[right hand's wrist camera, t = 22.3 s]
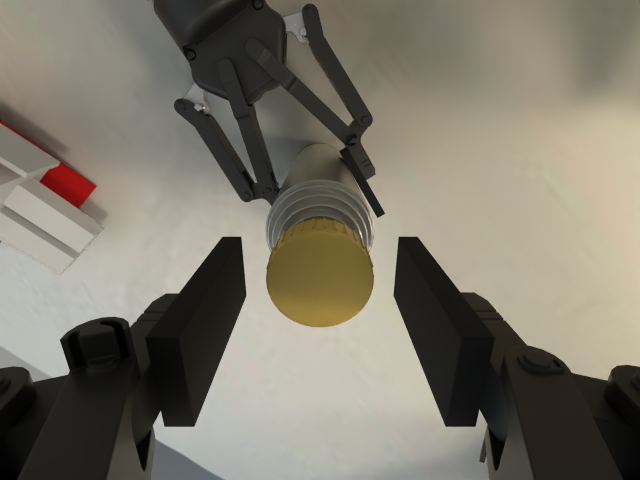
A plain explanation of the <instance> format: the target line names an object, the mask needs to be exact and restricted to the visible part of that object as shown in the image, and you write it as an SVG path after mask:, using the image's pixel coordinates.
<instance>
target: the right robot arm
mask: <svg viewBox="0 0 640 480" xmlns="http://www.w3.org/2000/svg"><path fill="white" fill-rule="evenodd" d="M245 298H246V286H245V274H244V263H243V252H242V240H241V237H222V238H221V240H220V241H219V242H218V243H217V245H216V246H215V247H214V249H213V250H212V251H211V252H210V254H209V255H208V256H207V258H206V259H205V260H204V262H203V263H202V264H201V265H200V267H199V268H198V269H197V271H196V272H195V273H194V275H193V276H192V277H191V278H190V280H189V281H188V282H187V284H186V285H185V286H184V288H183V289H182V290H181V291H180V293H179V294H165V295H163V296H161V297H160V298H158V299H156V300H155V301H153V302H152V303H151V304H150V305H149V306H148V308H147V309H146V310H145V311H144V314H141V316H140V317H139V318H138V319H137V322H134V324H133V325H132V326H131V327H129V323H128V322H127V321H126V320H125V319H123V318H118V317H104V318H99V319H95V320H91V321H88V322H86V323H83V324H81V325H78V326H76V327H75V328H73V329H72V330H70V331H68V332H67V333H66V334H65V335H64V336H63V337H62V338H61V339H60V342H61V345H62V348H63V351H64V354H65V357H66V360H67V363H68V366H69V369H70V372H69V374H68V375H65V376H60V377H56V378H51V379H46V380H41V381H37V382H33V381H32V378H31V376H30V373H29V371H28V370H26V369H25V368H23V367H7V368H1V369H0V480H150V479H151V471H152V463H153V455H154V447H155V433H154V429H153V424H154V422H155V420H156V418H157V416H158V415H159V413H160V411H161V413H162V417H163V422H164V426H165V427H194V426H195V423H196V421H197V418H198V416H199V413H200V411H201V408H202V406H203V403H204V401H205V398H206V396H207V393H208V391H209V388H210V386H211V383H212V381H213V378H214V376H215V373H216V371H217V368H218V366H219V363H220V361H221V358H222V356H223V353H224V351H225V348H226V346H227V343H228V340H229V338H230V335H231V333H232V330H233V328H234V325H235V323H236V320H237V318H238V315H239V313H240V310H241V308H242V305H243V303H244V300H245ZM394 298H395V300H396V303H397V305H398V308H399V310H400V313H401V315H402V318H403V320H404V323H405V325H406V328H407V330H408V333H409V335H410V338H411V340H412V343H413V346H414V348H415V351H416V353H417V356H418V358H419V361H420V363H421V366H422V368H423V371H424V373H425V376H426V378H427V381H428V383H429V386H430V388H431V391H432V393H433V396H434V398H435V401H436V403H437V406H438V408H439V411H440V413H441V416H442V418H443V421H444V424H445V426H446V427H475V426H476V422H477V417H478V413H479V409H480V411H481V413H482V415H483V416H484V418H485V420H486V422H487V429H486V433H485V437H484V441H483V445H482V450H481V454H480V461H479V462H483V463H484V462H485V458H486V455H487V462H488V470H489V478H490V480H640V367H637V366H631V365H621V366H616V367H615V368H613V369H612V370H611V373H610V376H609V378H608V381H606V380H601V379H597V378H592V377H587V376H582V375H578V374H574V373H571V371H570V370H569V368H568V367H567V366H566V364H565V363H564V362H563V361H561V360H560V359H559V358H557V357H556V356H555V355H553V354H551V353H549V352H546V351H544V350H542V349H539V348H535V347H532V346H527V345H526V344H525V343H524V341H523V340H522V339H521V338H520V337H519V336H518V335H517V333H516V332H515V331H514V330H513V329H512V328H511V327H510V325H509V324H508V323H507V322H506V321H504V320H503V318H502V316H501V315H500V314H499V313H498V312H496V310H495V308H494V307H493V306H492V305H491V304H490V303H489V302H488V301H487V300H486V299H484V298H482V297H481V296H479V295H477V294H476V293H460V291H459V290H458V289H457V288H456V286H455V285H454V284H453V282H452V281H451V280H450V278H449V277H448V276H447V275H446V273H445V272H444V271H443V269H442V268H441V267H440V265H439V264H438V263H437V262H436V260H435V259H434V258H433V256H432V255H431V254H430V252H429V251H428V250H427V249H426V247H425V246H424V245H423V243H422V242H421V241H420V240H419V238H418V237H399V240H398V252H397V263H396V274H395V286H394Z"/></svg>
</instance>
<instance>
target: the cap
mask: <svg viewBox="0 0 640 480" xmlns="http://www.w3.org/2000/svg"><path fill="white" fill-rule="evenodd" d="M372 267H373V265H372V262H371V259H370V255H369V252H368V249H367V247H366V245H365V246H364V244H363V241H362V238H361V237H360V238H359V237H358V235H357V234H356V233H355V230H351V229H350V228H348V227H347V226H346V224H344V225H343V224H341V223H338V222H336V220H334V221H332V220H326V219H325V218H323V219H314V218H312V220H308V221H305V222H304V220H303V221H302V222H301V223H299V224H297V225H295V226H294V225H292V228H290V229H289V230H288V231H284V233H283V235H282V236H281V238H280V239H277V242H276V245H275V248H274V247H273V249H272V252H271V255H270V258H269V262H268V265H267V275H266V283H267V289H268V293H269V295H270V298H271V300H272V301H273V303H274V305H275V306H276V307H277V308H278V310H279V311H280V312H281V313H283V314H284V315H285V316H286V317H288V318H289V319H291V320H293V321H295V322H297V323H299V324H302V325H306V326H311V327H329V326H334V325H337V324H340V323H343V322H345V321H347V320H349V319H351V318H352V317H354V316H355V315H356V314H357V313H358V312H360V311H361V309H362V308H363V307H364V306H365V304H366V303H367V301H368V300H369V297H370V295H371V292H372V289H373V282H374V275H373V269H372Z"/></svg>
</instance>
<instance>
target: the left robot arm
mask: <svg viewBox="0 0 640 480" xmlns="http://www.w3.org/2000/svg"><path fill="white" fill-rule="evenodd" d="M148 1H150V2H152V3H154V10H155V13H156V14H157V16H158V17H159V19H160V20H161V22H162V23H163V25H164V26H165V28H166V29H167V31H168V32H169V34H170V35H171V36H172V38H173V39H174V41H175V42H176V44H177V45H178V47H179V48H180V50H181V51H182V53H183V54H184V56H185V57H186V59H187V60H188V62H189V64H190V67H191V71H192V77H193V80H194V84H193V85H192V87H191V88H190V90H189V91H188V93H187V94H186V95H185V97H184V98H183V99H177V100H176V101H175V103H174V108H175V110H176V111H177V112H178V113H179V114H180V115H181V116H182V117H184V118H185V119H186V120H187V121H188V122H190V123H191V124H192V125H193V126H194V127H195V128H196V130H197V131H198V133H199V134H200V136H201V137H202V139H203V140H204V142H205V144H206V145H207V147H208V148H209V150H210V151H211V153H212V154H213V156H214V158H215V159H216V161H217V162H218V164H219V165H220V167H221V169H222V170H223V172H224V173H225V175H226V176H227V178H228V179H229V181H230V183H231V184H232V186H233V187H234V189H235V190H236V192H237V194H238V195H239V197H240V198H241V199H242V200H243V201H244V202H250V201H251V200H255V199H261V198H262V199H266V200H267V201H268V202H269V203H270V205H271V206H272V205H273V203H274V201H275V199H276V197H277V195H278V193H279V191H280V189H281V188H280V189H279V187H278V185H279V184H278V183H277V181H276V178H275V175H274V171H273V168H272V165H271V162H270V159H269V155H268V152H267V149H266V146H265V143H264V139H263V136H262V133H261V130H260V127H259V123H258V120H257V116H256V110H255V107H254V104H253V103H255V102H256V101H258V100H259V99H260V98H261V96H262V95H263V94H264V93H265V92H266V91H269V90H272V89H275V88H276V87H278V86H279V85H282V86H283V87H284V88H285V89H286V90H287V91H288V92H289V93H291V94H292V95H293V96H294V97H295V98H296V99H297V100H298V101H299V102H300V103H301V104H302V105H303V106H304V107H306V108H307V109H308V110H309V111H310V112H311V113H312V114H313V115H314V116H315V117H316V118H317V119H318V120H319V121H321V122H322V123H323V124H324V125H325V126H326V127H327V128H328V129H329V130H330V131H331V132H332V133H333V134H334V135H336V136H337V137H338V138H339V139H340V140H341V141H342V142H343V143H344V144H345V146H346V147H345V148H344V149H342V150H340V151H339V152H340V154H341V156H342V158H343V159H344V161H345V163H346V164H347V166H348V168H349V170H350V171H351V173H352V175H353V176H354V178H355V180H356V182H357V183H358V185H359V187H360V188H361V190H362V192H363V194H364V195H365V197H366V199H367V200H368V202H369V204H370V206H371V207H372V209H373V211H374V212H375V214H376V216H377V218H378V217H380V216H382V215H384V214H385V213H384V211H383V209H382V207H381V206H380V204H379V202H378V200H377V199H376V197H375V195H374V193H373V192H372V190H371V188H370V186H369V185H368V183H367V181H366V180H367V179H369V178H370V177H372V176H374V175H375V168H374V166H373V164H372V163H371V161H370V159H369V157H368V155H367V154H366V152H365V150H364V148H363V146H362V145H361V141H360V140H361V136H362V134H363V133H364V131H365V130H366V129H367V128H368V127H369V126H370V125H371V124H372V121H373V118H372V115H371V114H370V112H369V110H368V109H367V107H366V105H365V104H364V102H363V100H362V99H361V97H360V95H359V94H358V92H357V90H356V89H355V87H354V85H353V84H352V82H351V81H350V79H349V77H348V76H347V74H346V72H345V71H344V69H343V67H342V66H341V64H340V62H339V61H338V59H337V57H336V56H335V54H334V52H333V51H332V49H331V47H330V46H329V44H328V42H327V41H326V39H325V37H324V36H323V31H322V27H321V22H320V18H319V14H318V10H317V7H316V6H315V5H313V4H307V5H305V6H304V8H303V10H302V11H301V12H298V13H295V14H291V15H288V16H285V17H282V16H281V15H280V14H279V13H277V12H276V11H274V10H273V9H271V8H270V7H269V6H268V5H267V3H266V1H265V0H148ZM287 34H293V35H295V36H296V38H297V40H298V41H299V42H300V43H301V44H304V45H305V44H309V46H310V48H311V51H312V53H313V55H314V56H315V58H316V60H317V61H318V63H319V64H320V66H321V68H322V69H323V71H324V72H325V74H326V76H327V77H328V79H329V81H330V82H331V84H332V85H333V87H334V89H335V90H336V92H337V93H338V95H339V97H340V98H341V100H342V101H343V103H344V105H345V106H346V108H347V109H348V111H349V113H350V114H351V116H352V117H353V119H354V120H353V121H352V122H351V124H350V125H349V126H347V125H346V124H345V123H344V122H343V121H342V120H341V119H340V118H339V117H338V116H336V115H335V114H334V113H333V112H332V111H331V110H330V109H329V108H328V107H327V106H326V105H325V104H324V103H323V102H322V101H321V100H320V99H319V98H318V97H317V96H316V95H314V94H313V93H312V92H311V91H310V90H309V89H308V88H307V87H306V86H305V85H304V84H303V83H302V82H301V81H300V80H299V79H298V78H297V77H296V76H295V75H294V74H293V73H292V72H291V71H289V70H288V69H287V68H286V49H287ZM207 92H209V93H212V94H214V95H216V96H219V97H221V98H223V99H226V100H228V101H229V102H230V105H231V108H232V111H233V114H234V117H235V119H236V120H237V122H238V125H239V128H240V131H241V134H242V137H243V140H244V143H245V146H246V149H247V152H248V155H249V158H250V161H251V164H252V167H253V170H254V173H255V176H256V179H257V182H258V183H255V182H254V181H253V179H252V178H251V176H250V174H249V173H248V171H247V169H246V168H245V166H244V165H243V163H242V161H241V160H240V158H239V156H238V155H237V153H236V152H235V150H234V148H233V147H232V145H231V143H230V142H229V140H228V139H227V137H226V135H225V134H224V132H223V130H222V129H221V127H220V126H219V124H218V123H217V121H216V120H215V118H214V117H213V116H212V115H211V114H210V112H211V105H210V103H209V102H208V100H207Z"/></svg>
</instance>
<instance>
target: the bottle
mask: <svg viewBox="0 0 640 480" xmlns="http://www.w3.org/2000/svg"><path fill="white" fill-rule="evenodd" d="M312 218H314V219H323V218H325V219H326V220H332V221H334V220H336V222H338V223H341V224H343V225H344V224H346V226H347V227H348V228H350V229H351V230H355V233H356V234H357V235H358V237H359V238H360V237H361V238H362V241H363V244H364V246H365V245H366V247H367V249H368V252H369V251H370V249H371V246H372V243H373V238H374V223H373V218H372V215H371V212H370V210H369V208H368V206H367V204H366V202H365V200H364V198H363V196H362V194H361V192H360V190H359V188H358V186H357V184H356V182H355V180H354V177H353V175H352V173H351V171H350V170H349V168H348V166H347V164H346V163H345V161H344V159H343V158H342V156H341V154H340V152H339V151H338V150H337V149H336V148H334V147H333V146H330V145H328V144H323V143H317V144H312V145H310V146H307V147H306V148H304V149H303V150H302V151H301V152H300V153H299V154H298V156H297V158H296V159H295V161H294V163H293V165H292V167H291V169H290V171H289V173H288V175H287V177H286V179H285V181H284V183H283V185H282V187H281V189H280V191H279V193H278V195H277V197H276V199H275V201H274V203H273V205H272V207H271V209H270V212H269V214H268V218H267V222H266V238H267V243H268V246H269V249H270V251H271V252H272V249H273V247H274V248H275V245H276V242H277V239H280V238H281V236H282V235H283V233H284V231H288V230H289V229H290V228H292V225H294V226H295V225H297V224H299V223H301V222H302V221H303V220H304V222H305V221H308V220H312Z"/></svg>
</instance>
